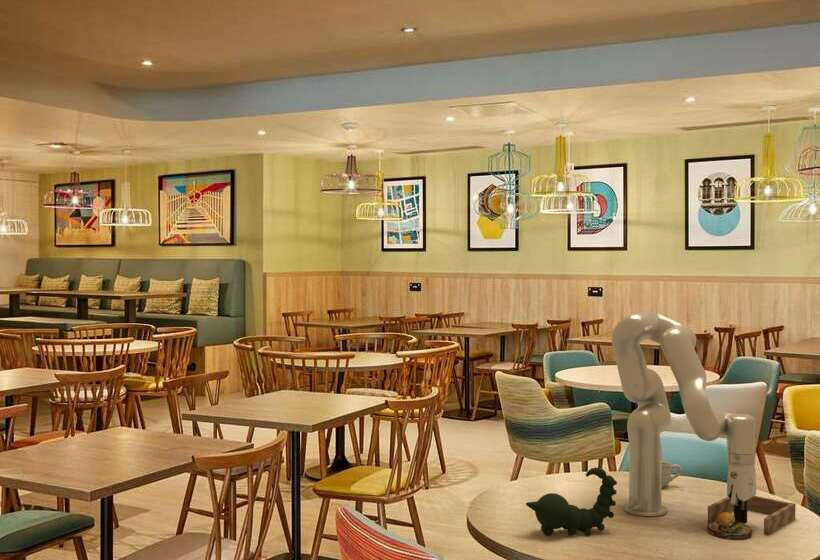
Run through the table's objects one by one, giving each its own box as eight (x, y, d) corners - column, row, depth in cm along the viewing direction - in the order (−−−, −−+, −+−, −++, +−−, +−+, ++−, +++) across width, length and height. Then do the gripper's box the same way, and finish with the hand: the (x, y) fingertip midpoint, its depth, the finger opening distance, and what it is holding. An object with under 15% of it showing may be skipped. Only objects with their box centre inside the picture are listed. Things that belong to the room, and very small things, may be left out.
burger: (760, 539, 233) (761, 512, 232) (720, 541, 231) (720, 514, 231) (737, 525, 244) (737, 500, 244) (698, 527, 243) (699, 501, 242)
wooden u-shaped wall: (768, 535, 235) (768, 519, 235) (707, 521, 247) (707, 506, 247) (795, 519, 250) (795, 503, 249) (736, 506, 262) (736, 492, 262)
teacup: (635, 488, 282) (636, 464, 282) (640, 480, 292) (640, 457, 292) (679, 492, 277) (680, 468, 277) (682, 484, 287) (682, 460, 287)
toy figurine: (602, 531, 244) (517, 528, 239) (609, 464, 244) (523, 460, 239) (616, 542, 235) (528, 539, 230) (623, 472, 234) (535, 468, 230)
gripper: (743, 465, 234) (743, 531, 234) (764, 455, 245) (763, 519, 245) (716, 460, 239) (716, 525, 239) (738, 451, 250) (737, 513, 250)
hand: (740, 522), depth 242 cm, fingers closed
